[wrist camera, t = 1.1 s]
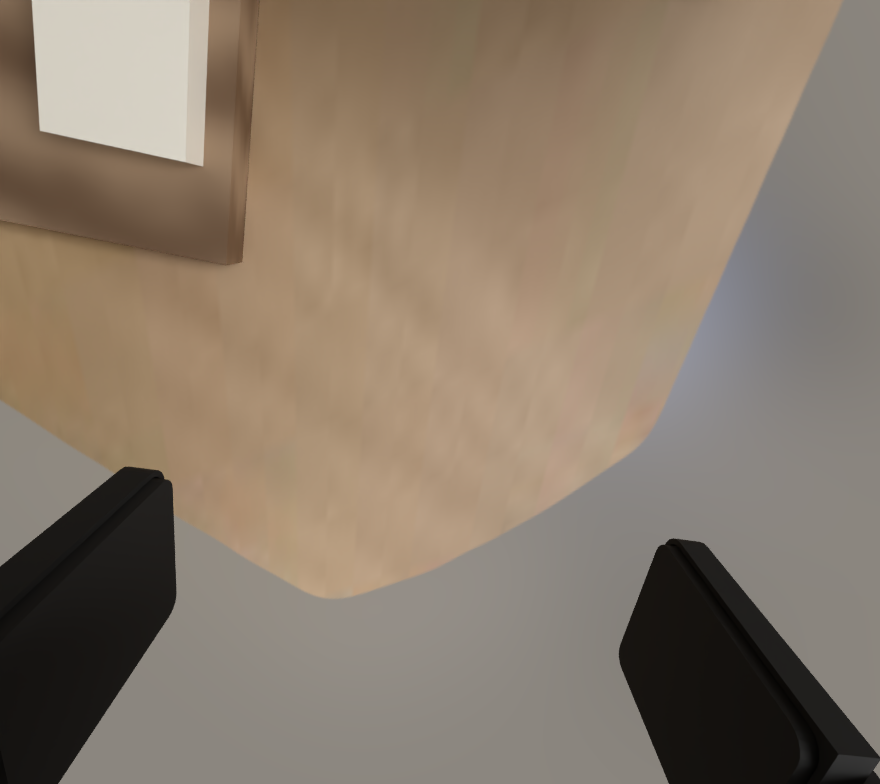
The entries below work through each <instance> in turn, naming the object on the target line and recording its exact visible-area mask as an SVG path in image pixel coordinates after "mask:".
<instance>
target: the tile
mask: <svg viewBox="0 0 880 784" xmlns="http://www.w3.org/2000/svg"><path fill="white" fill-rule="evenodd" d="M32 12H33V28H34V44H35V60H36V77H37V93H38V109H39V125H40V131H43V132H47V133H51V134H56V135H60V136H64V137H68V138H73V139H77V140H82V141H87V142H91V143H96V144H101V145H105V146H110V147H114V148H119V149H124V150H128V151H133V152H138V153H142V154H147V155H152V156H156V157H161V158H165V159H170V160H175V161H179V162H184V163H189V164H193V165H198V166H203V159H204V132H205V106H206V79H207V52H208V26H209V0H32Z"/></svg>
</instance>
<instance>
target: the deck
mask: <svg viewBox="0 0 880 784" xmlns="http://www.w3.org/2000/svg"><path fill="white" fill-rule="evenodd" d="M258 11H259V0H209V26H208V52H207V79H206V106H205V132H204V159H203V166H198V165H193V164H189V163H184V162H179V161H175V160H170V159H165V158H161V157H156V156H152V155H147V154H142V153H138V152H133V151H128V150H124V149H119V148H114V147H110V146H105V145H101V144H96V143H91V142H87V141H82V140H77V139H73V138H68V137H64V136H60V135H56V134H51V133H47V132H43V131H40V125H39V109H38V93H37V77H36V60H35V44H34V28H33V12H32V0H0V220H2V221H7V222H12V223H17V224H22V225H27V226H32V227H37V228H42V229H47V230H52V231H57V232H62V233H67V234H72V235H77V236H82V237H87V238H92V239H97V240H102V241H107V242H112V243H117V244H122V245H127V246H132V247H137V248H142V249H147V250H152V251H158V252H163V253H168V254H173V255H178V256H183V257H188V258H193V259H198V260H203V261H208V262H213V263H218V264H223V265H230V264H235V263H240V262H242V256H243V241H244V225H245V210H246V195H247V180H248V164H249V149H250V134H251V118H252V103H253V88H254V73H255V57H256V42H257V27H258Z"/></svg>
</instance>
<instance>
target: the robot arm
mask: <svg viewBox="0 0 880 784" xmlns="http://www.w3.org/2000/svg"><path fill="white" fill-rule="evenodd" d="M175 600H176V570H175V542H174V514H173V488H172V483H171V481H169V480H165V479H164V476H163V474H162V472H160V471H158V470H151V469H143V468H136V467H124V468H122V469H121V470H119V471H118V472H117V473H116V474H114V475H113V476H112V477H111V478H109V479H108V480H107V481H106V482H104V483H103V484H102V485H101V486H100V487H99V488H97V489H96V490H95V491H93V492H92V493H91V494H90V495H88V496H87V497H86V498H85V499H83V500H82V501H81V502H80V503H79V504H77V505H76V506H75V507H73V508H72V509H71V510H70V511H69V512H67V513H66V514H65V515H64V516H62V517H61V518H60V519H59V520H57V521H56V522H55V523H54V524H53V525H51V526H50V527H49V528H47V529H46V530H45V531H44V532H43V533H41V534H40V535H39V536H38V537H36V538H35V539H34V540H33V541H32V542H30V543H29V544H28V545H26V546H25V547H24V548H23V549H21V550H20V551H19V552H18V553H16V554H15V555H14V556H13V557H12V558H10V559H9V560H8V561H7V562H5V563H4V564H3V565H2V566H1V567H0V784H58V783H59V782H60V780H61V779H62V777H63V775H64V774H65V773H66V771H67V770H68V768H69V766H70V765H71V763H72V762H73V761H74V759H75V757H76V756H77V754H78V753H79V751H80V750H81V748H82V747H83V745H84V744H85V742H86V741H87V739H88V738H89V736H90V735H91V733H92V732H93V730H94V729H95V727H96V726H97V724H98V723H99V721H100V720H101V718H102V717H103V715H104V714H105V712H106V711H107V709H108V708H109V706H110V705H111V703H112V702H113V700H114V699H115V697H116V696H117V694H118V693H119V691H120V690H121V688H122V687H123V685H124V684H125V682H126V681H127V679H128V678H129V676H130V675H131V673H132V672H133V670H134V669H135V667H136V666H137V664H138V662H139V661H140V660H141V658H142V657H143V655H144V653H145V652H146V651H147V649H148V647H149V646H150V644H151V643H152V641H153V640H154V638H155V637H156V635H157V634H158V632H159V631H160V629H161V628H162V626H163V625H164V623H165V622H166V620H167V619H168V617H169V615H170V614H171V612H172V610H173V607H174V604H175ZM619 660H620V665H621V668H622V671H623V673H624V675H625V678H626V680H627V683H628V685H629V688H630V690H631V692H632V695H633V697H634V700H635V702H636V705H637V707H638V709H639V712H640V714H641V717H642V719H643V722H644V724H645V726H646V729H647V731H648V734H649V736H650V739H651V741H652V744H653V746H654V748H655V750H656V753H657V756H658V758H659V760H660V763H661V765H662V768H663V770H664V773H665V775H666V777H667V780H668V783H669V784H880V779H879V777H878V776H877V775H876V773H875V772H874V771H873V770H874V768H875V767H876V765H877V764H878V762H879V761H880V757H879V756H878V754H877V753H876V752H875V751H874V749H873V748H872V747H871V746H870V744H869V743H868V742H867V741H866V740H865V738H864V737H863V736H862V735H861V733H859V731H858V730H857V729H856V727H855V726H854V725H853V724H852V723H851V722H850V720H849V719H848V718H847V716H846V715H845V714H844V713H843V712H842V710H841V709H840V708H839V707H838V705H837V704H836V703H835V702H834V701H833V699H832V698H831V697H830V696H829V694H828V693H827V692H826V691H825V690H824V688H823V687H822V686H821V685H820V684H819V682H818V681H817V680H816V679H815V677H814V676H813V675H812V674H811V673H810V671H809V670H808V669H807V668H806V667H805V665H804V664H803V663H802V662H801V660H800V659H799V658H798V657H797V656H796V654H795V653H794V652H793V651H792V649H791V648H790V647H789V646H788V645H787V643H786V642H785V641H784V640H783V639H782V637H781V636H780V635H779V634H778V632H777V631H776V630H775V629H774V627H773V626H772V625H771V624H770V623H769V621H768V620H767V619H766V618H765V617H764V615H763V614H762V613H761V612H760V610H759V609H758V608H757V607H756V606H755V604H754V603H753V602H752V601H751V599H750V598H749V597H748V596H747V595H746V593H745V592H744V591H743V590H742V589H741V587H740V586H739V585H738V584H737V582H736V581H735V580H734V579H733V577H732V576H731V575H730V574H729V573H728V572H727V570H726V569H725V568H724V566H723V565H722V564H721V563H720V562H719V560H718V559H717V558H716V557H715V556H714V555H713V553H712V552H711V551H710V549H709V548H708V547H707V546H706V545H705V544H704V543H701V542H696V541H688V540H681V539H669V540H668V541H667V542H666V544H665V545H661V546H659V547H658V549H657V550H656V553H655V555H654V558H653V561H652V563H651V566H650V569H649V571H648V574H647V576H646V579H645V582H644V584H643V587H642V589H641V592H640V595H639V597H638V600H637V603H636V605H635V608H634V611H633V613H632V616H631V618H630V621H629V623H628V626H627V629H626V631H625V634H624V636H623V639H622V642H621V645H620V648H619Z"/></svg>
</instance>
